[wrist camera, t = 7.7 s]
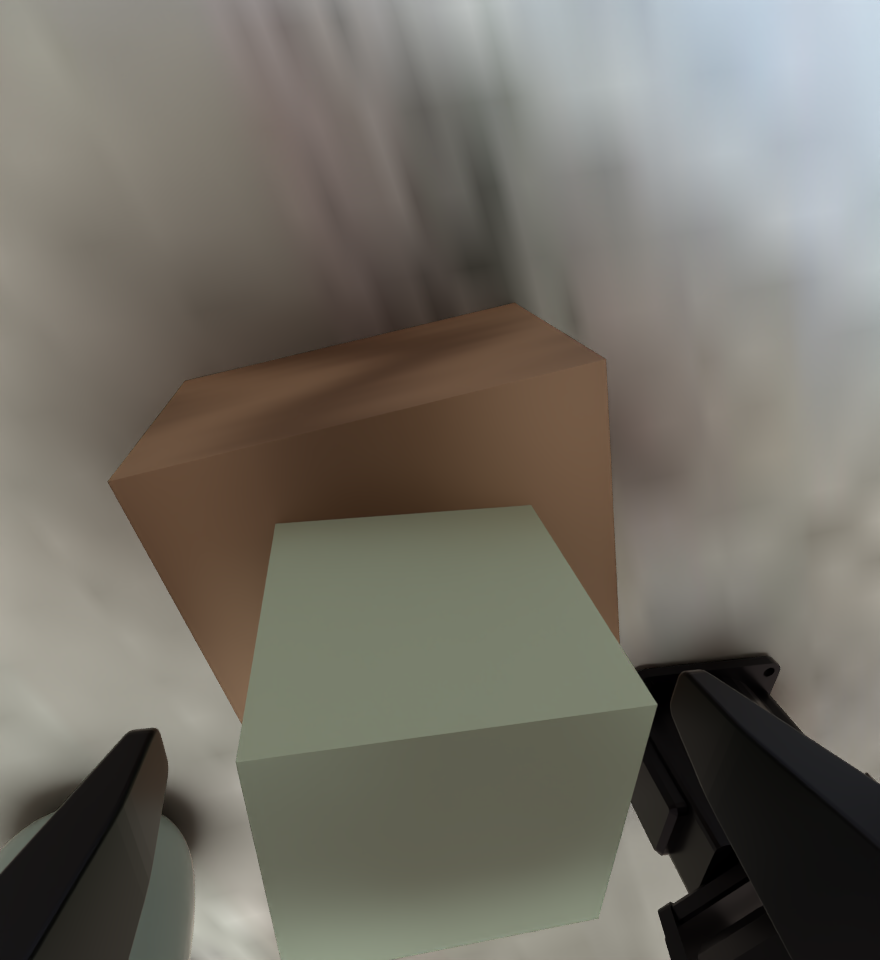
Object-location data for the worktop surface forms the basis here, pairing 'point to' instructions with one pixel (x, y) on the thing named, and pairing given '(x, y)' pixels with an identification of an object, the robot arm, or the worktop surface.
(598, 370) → the walnut block
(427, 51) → the worktop surface
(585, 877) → the green cube
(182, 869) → the cup
